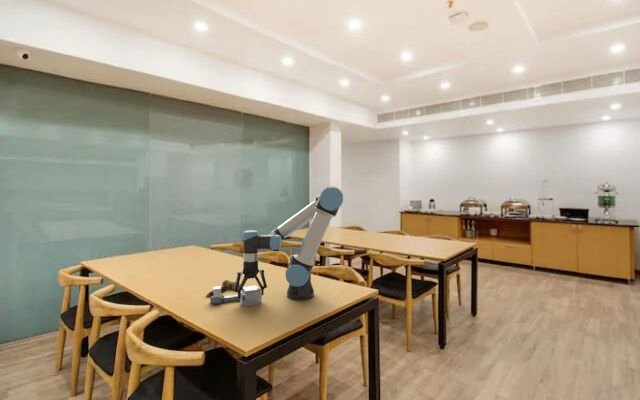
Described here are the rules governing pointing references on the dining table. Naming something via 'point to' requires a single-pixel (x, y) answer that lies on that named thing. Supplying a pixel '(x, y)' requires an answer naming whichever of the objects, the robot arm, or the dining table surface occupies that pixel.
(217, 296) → the ratchet
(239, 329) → the dining table surface
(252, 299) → the brushed metal cube
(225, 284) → the gavel
